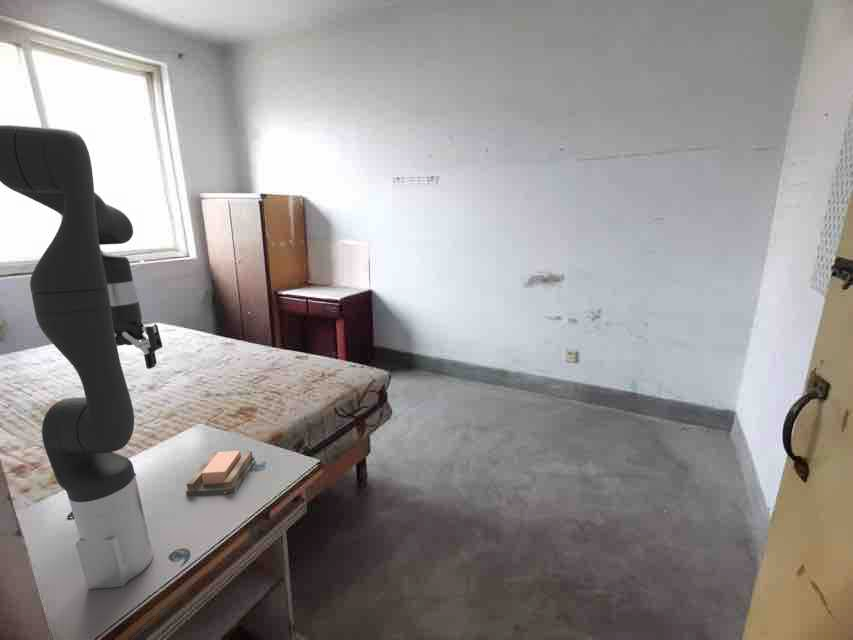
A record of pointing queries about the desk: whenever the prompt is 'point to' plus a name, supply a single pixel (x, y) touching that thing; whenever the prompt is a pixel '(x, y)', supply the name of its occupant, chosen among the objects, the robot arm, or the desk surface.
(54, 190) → the robot arm
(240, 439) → the desk surface
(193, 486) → the holder
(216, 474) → the salmon pink block
